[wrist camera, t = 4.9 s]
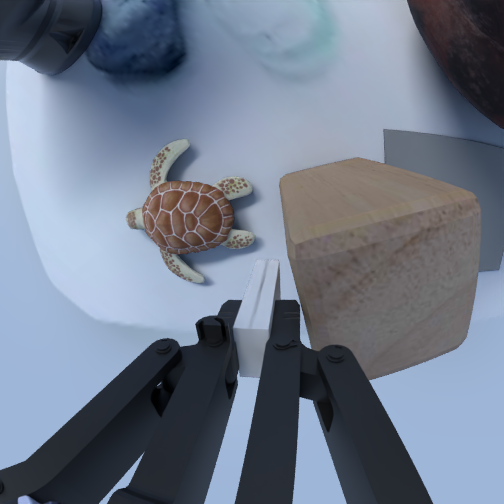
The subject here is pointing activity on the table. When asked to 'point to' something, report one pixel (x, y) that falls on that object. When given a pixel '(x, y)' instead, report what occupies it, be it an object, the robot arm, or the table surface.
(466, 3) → the jug
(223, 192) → the decorative turtle
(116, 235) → the table surface
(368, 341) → the wooden block
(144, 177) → the table surface
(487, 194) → the mat
